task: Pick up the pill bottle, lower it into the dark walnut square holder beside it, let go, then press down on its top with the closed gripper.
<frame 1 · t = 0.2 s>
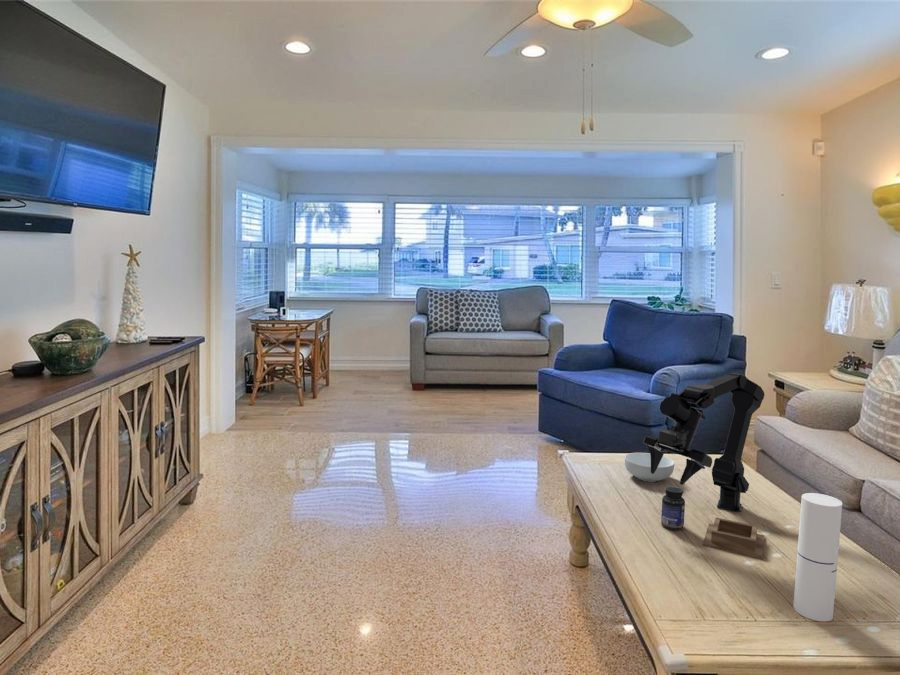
hand: (666, 478, 157), 15 cm above the table, tool tilted 30°, fingers open, 9 cm apart
pill bottle: (672, 526, 160), on the table
cereal bowl: (648, 478, 199), on the table
walnut holder: (734, 541, 151), on the table
cylindrical container: (812, 612, 119), on the table
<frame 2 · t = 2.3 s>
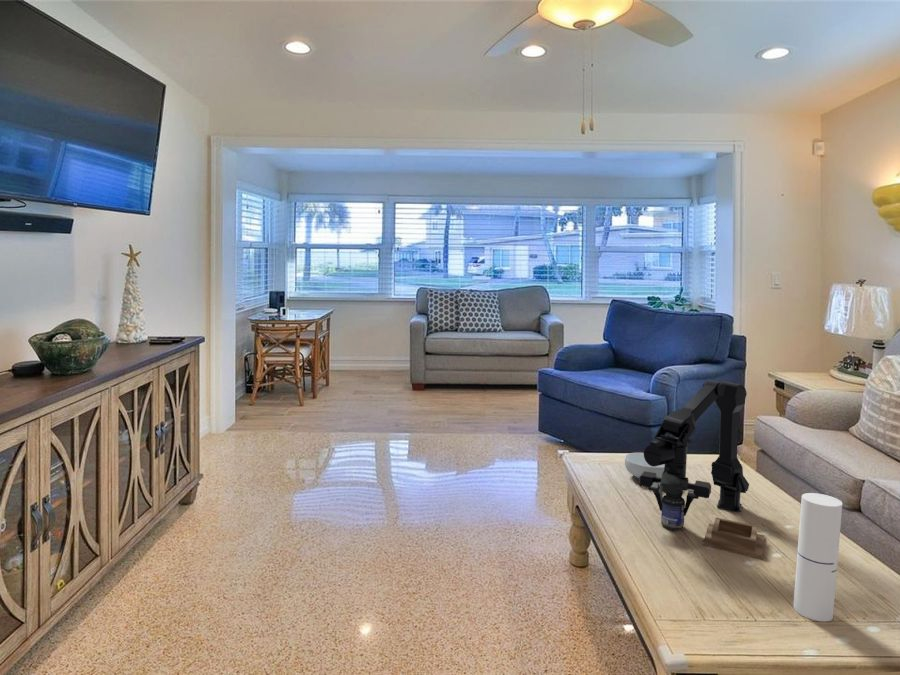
hand: (672, 512, 160), 4 cm above the table, tool pointing down, fingers closed on pill bottle, 6 cm apart
pill bottle: (672, 526, 160), on the table, touching gripper
everything else where it was.
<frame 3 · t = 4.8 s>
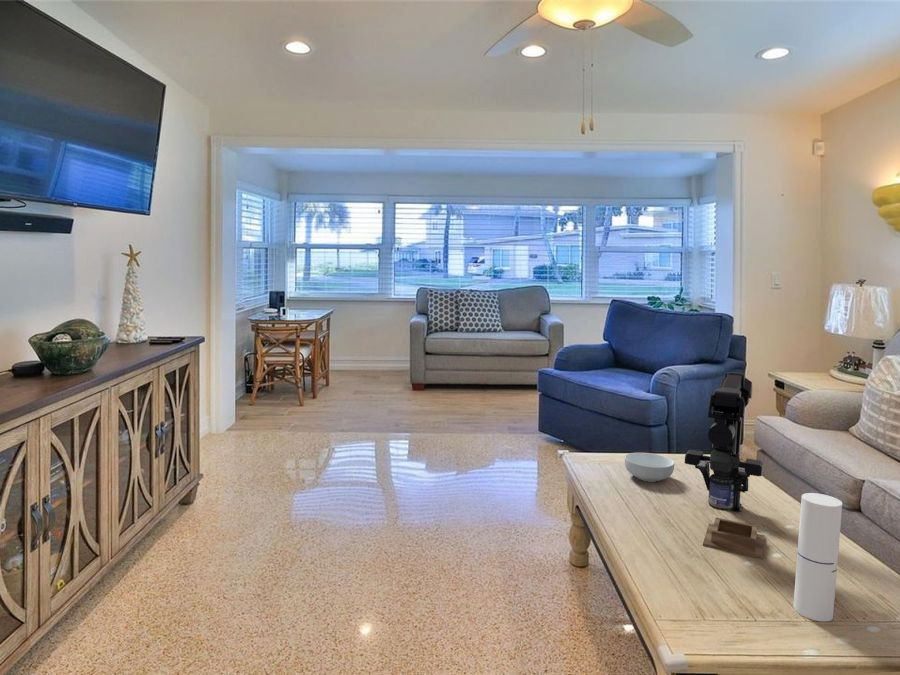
hand: (721, 492, 152), 13 cm above the table, tool pointing down, fingers closed on pill bottle, 6 cm apart
pill bottle: (720, 507, 152), point 9 cm above the table, touching gripper
everything else where it was.
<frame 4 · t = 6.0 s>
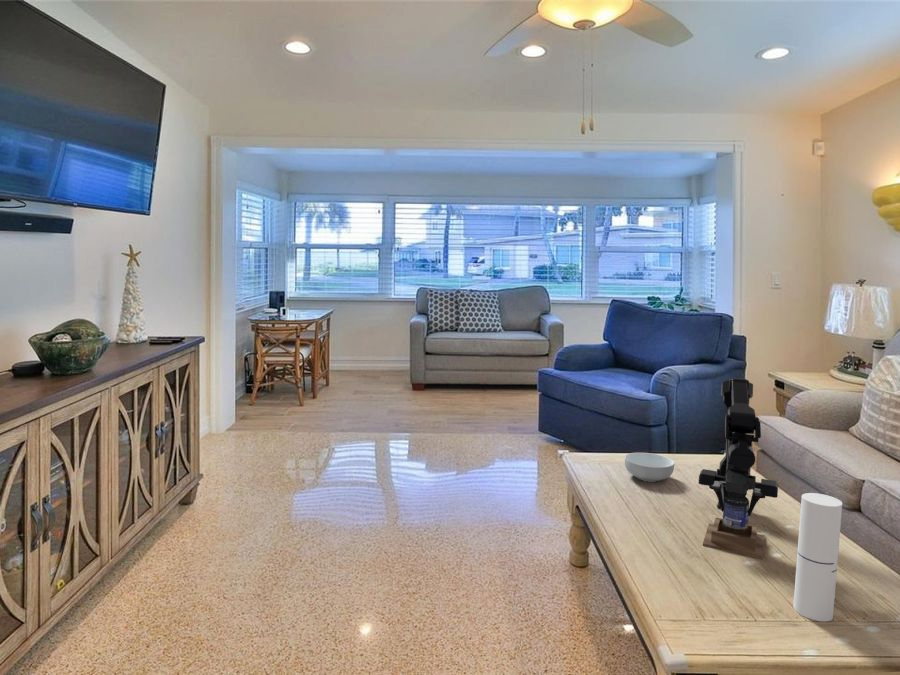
hand: (735, 513, 150), 8 cm above the table, tool pointing down, fingers closed on pill bottle, 6 cm apart
pill bottle: (734, 528, 151), point 4 cm above the table, touching gripper
everything else where it was.
when the fingers open (6 cm above the table, at t = 7.2 s): pill bottle drops 1 cm, resting on walnut holder.
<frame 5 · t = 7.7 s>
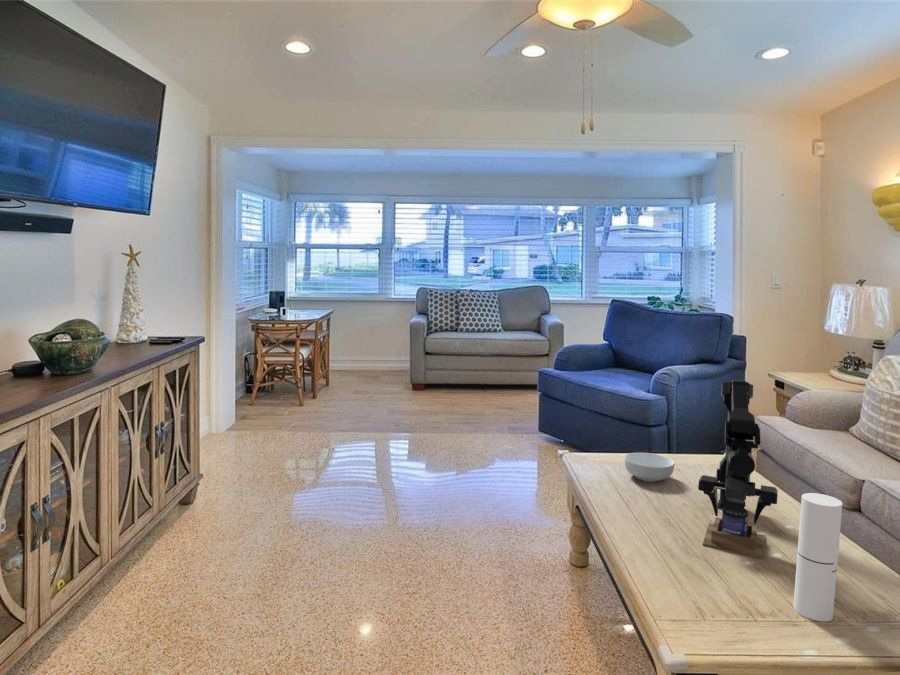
hand: (735, 519, 150), 6 cm above the table, tool pointing down, fingers open, 9 cm apart
pill bottle: (733, 539, 151), resting on walnut holder
everything else where it was.
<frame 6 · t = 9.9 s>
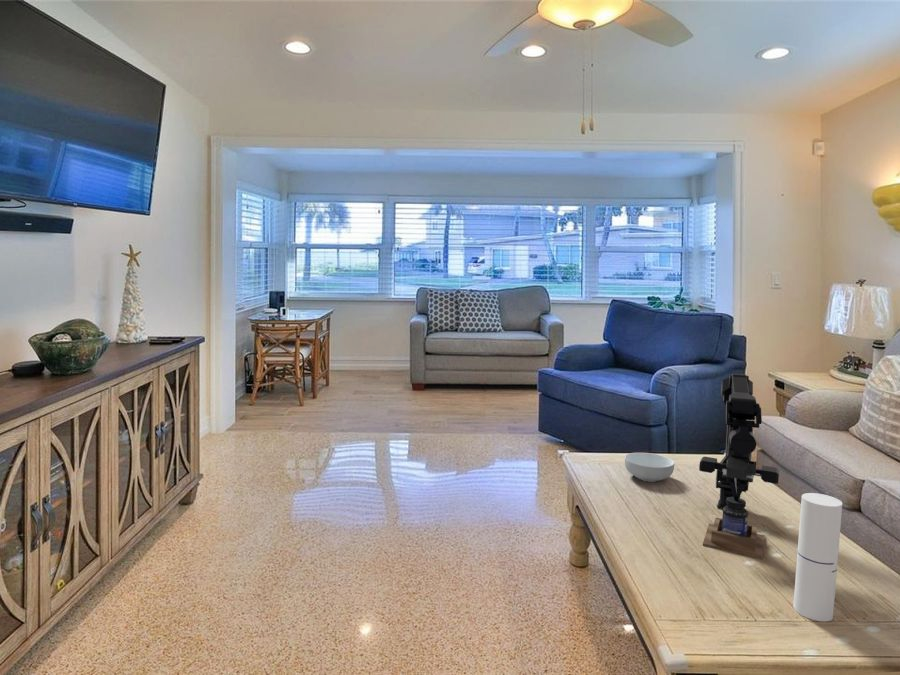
hand: (736, 500, 150), 12 cm above the table, tool pointing down, fingers closed, pressing on pill bottle
pill bottle: (733, 539, 151), resting on walnut holder, touching gripper
everything else where it was.
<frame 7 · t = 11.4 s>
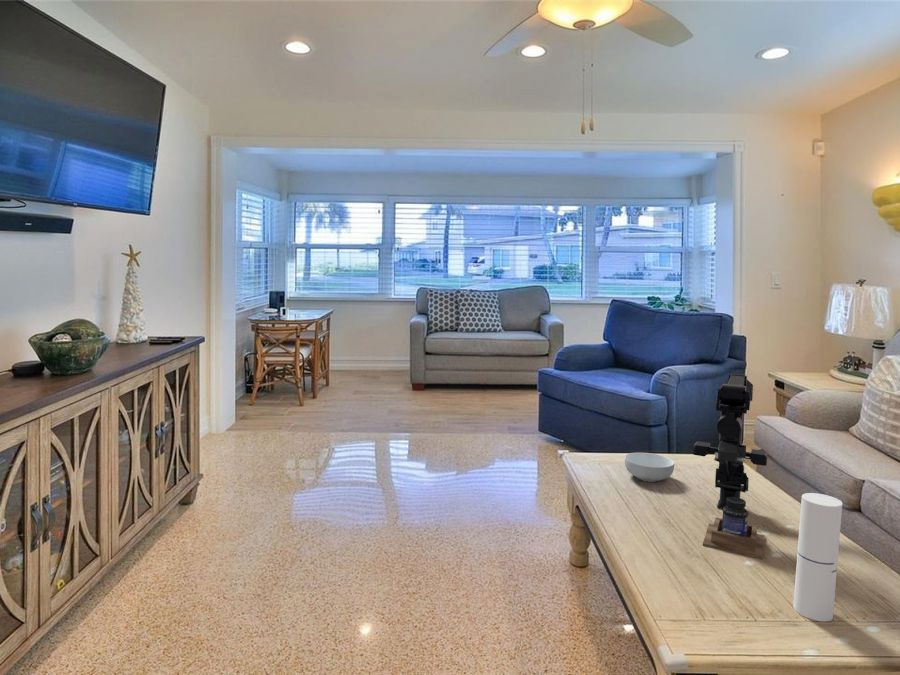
hand: (727, 481, 160), 13 cm above the table, tool pointing down, fingers closed
pill bottle: (733, 539, 151), resting on walnut holder
everything else where it was.
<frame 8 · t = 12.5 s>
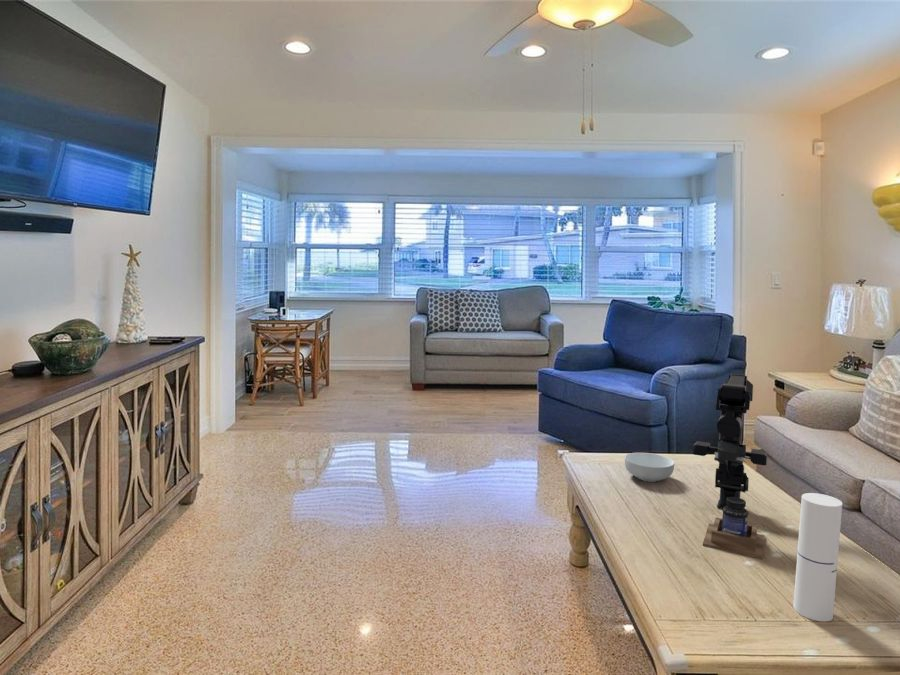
hand: (727, 481, 160), 13 cm above the table, tool pointing down, fingers closed
nothing on the table moved.
at the end: pill bottle 0.1 cm from the walnut holder (horizontally); pill bottle resting on walnut holder; pill bottle tilted 0° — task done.
